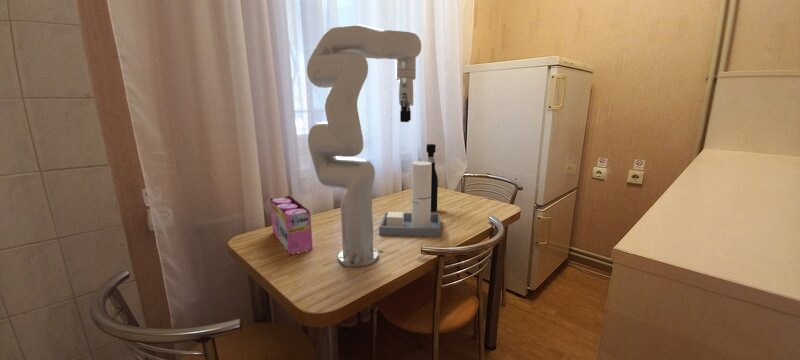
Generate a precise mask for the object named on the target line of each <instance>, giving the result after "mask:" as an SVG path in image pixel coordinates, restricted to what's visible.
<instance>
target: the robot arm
mask: <svg viewBox="0 0 800 360" xmlns="http://www.w3.org/2000/svg"><path fill="white" fill-rule="evenodd" d="M421 51H422V41H421V39H420V37H419V35H418V34H416V33H413V32H410V31H401V30H392V29H391V30H390V29H381V28H376V27H372V26H367V25H364V24H351V25H342V26H335V27H334V26H333V27H331V28H328V30H327V31H326V32H325V33H324V34H323V35H322V37H321V39H319V42H318V43H317V45H316V47H315V49H314V50H313V51H312V53H311V55H310V57H309V58H308V61H307V64H306V65H307V66H306V74H307V78H308V80H309V82H310V83H312V84H313V86H316V88H317V87H318V88H323V89H325V88H326V89H327V88H331V89H330V91H329V93H328V95H327V97H326V99H325V103H324V111H325V116H326V121H321V122H317V123H315V124H313V125H312V126H311V128H310V129H309V132H308V135H307V137H308V138H307V146H308V149H309V153H310V157H311V160H312V163H313V167H314V171H315V174H316V177H317V179H318V181H319V183H320V184H321V185H322V186H324V187H327V188H333V189H339V190H340V189H341V190H346V192H345V194H344V196H343V198H342V199H341V202H340V220H341V222H340V224H341V238H342V239H341V241H342V245H341V246H342V250H341V251H340V252H338V254H337V259H338V262H339V263H340V264H341V265H343V266H345V267H354V268H355V267H356V268H358V267H365V266H369V265H372V264H373V263H375V262H376V261H377V260H378V259H379V257H380V256H379V251H378V250H377V249H376V248H375V247H374V224H373V223H374V219H373V218H374V217H373V193H374V192H373V188H374V182H375V177H376V170H375V166H374V165H373V164H372V162H371V161H369V160H368V159H365V158H361V157H357V156H358V155H360V154H361V153H362V151H363V149H364V136H363V133H362V132H363V131H362V125H361V122H360V116H359V111H358V110H359V109H358V99H359V96H360V92H361V90H362V88H363V86H364V84H365V82H366V79H367V77H368V74H369V73H368V72H369V64H368V63H369V62H368V61H367V59H373V60H374V59H375V60H377V59H378V60H380V59H381V60H382V59H387V60H395V80H398V101H399V102H398V104H399V105H400V111H399V112H400V113H399V116H400V117H399V121H400V123H409V122H410V121H411V120H412V119H411V118H412V117H411V116H412V111H411V107H413V106H414V80H416V76H417V75H416V73H417V71H416V68H417V67H416V66H417V65H416V64H417V63H416V62H417V61H416V60H417V57H419V55H420V53H421Z"/></svg>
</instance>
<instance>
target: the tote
mask: <svg viewBox="0 0 800 360" xmlns="http://www.w3.org/2000/svg"><path fill="white" fill-rule="evenodd" d="M388 212H389V211H387V212H386V211H385V213H384V214H383V217H382V219H381V222H380V224H379V227H378V234H379V236H399V237H402V236H403V237H424V238H425V237H427V238H441V237H442V235H441V234H442V231H441V230H442V228H441V227H442V226H441V225H442V224H441V213H431V225H430V228H420V227H412V212H404V226H403V227H389V226H387V221H386V217H387V214H388Z"/></svg>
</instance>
